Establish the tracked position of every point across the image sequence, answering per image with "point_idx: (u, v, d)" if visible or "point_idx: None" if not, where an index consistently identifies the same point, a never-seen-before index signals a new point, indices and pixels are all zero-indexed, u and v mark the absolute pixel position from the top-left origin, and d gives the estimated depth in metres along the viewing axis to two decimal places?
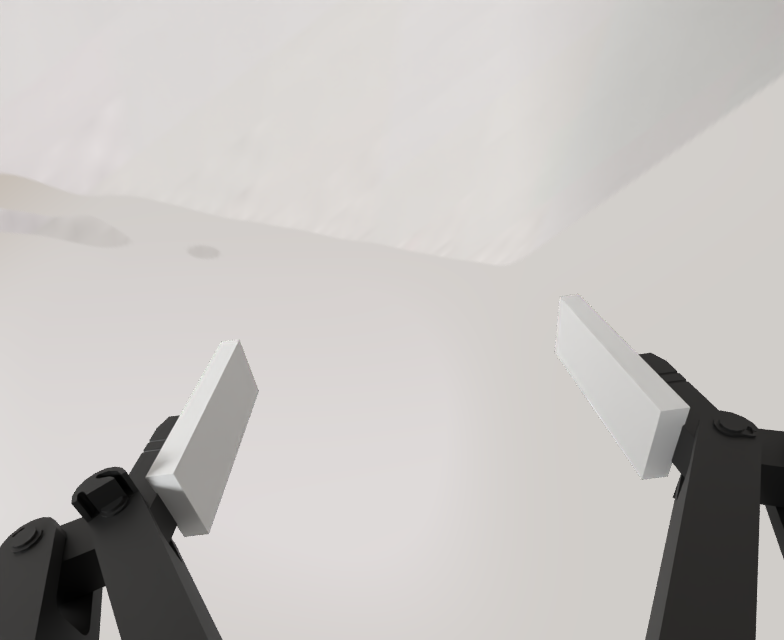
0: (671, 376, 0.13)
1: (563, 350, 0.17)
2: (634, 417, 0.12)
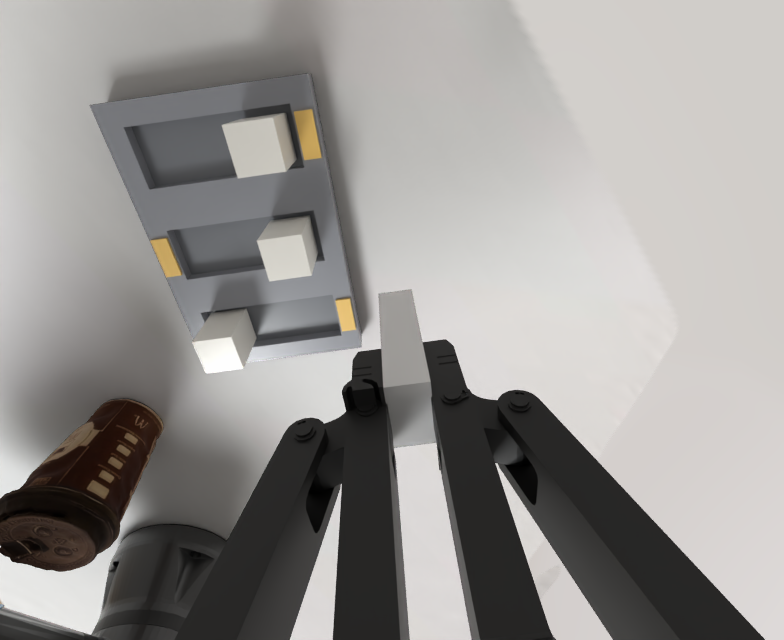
0: (448, 358, 0.15)
1: None
2: None
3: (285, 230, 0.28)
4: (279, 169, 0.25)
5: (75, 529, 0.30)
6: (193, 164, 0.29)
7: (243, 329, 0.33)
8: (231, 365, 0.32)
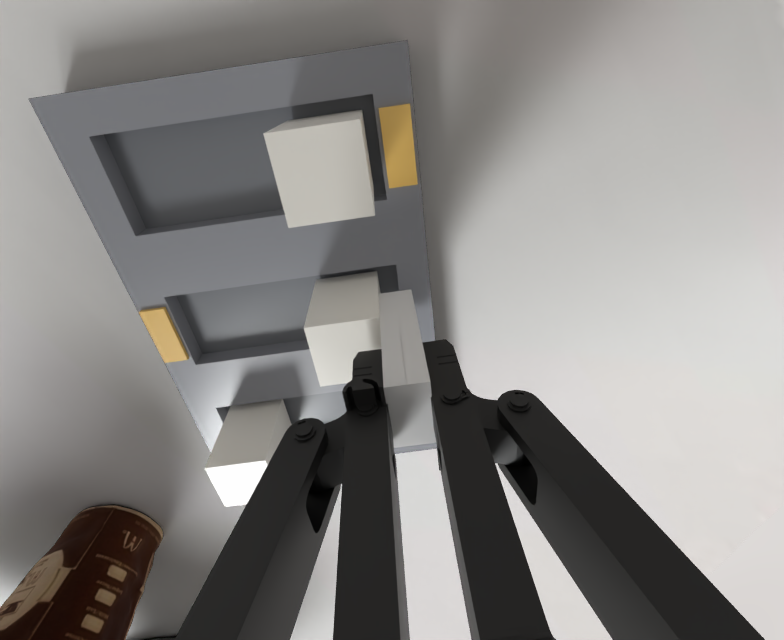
0: (448, 358, 0.15)
1: None
2: None
3: (347, 304, 0.17)
4: (363, 212, 0.14)
5: None
6: (206, 194, 0.18)
7: (280, 435, 0.22)
8: None
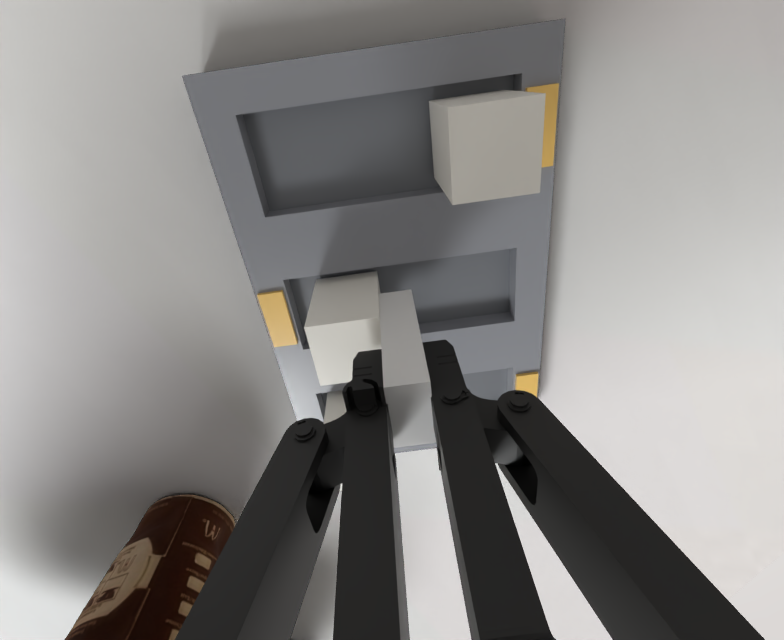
0: (448, 358, 0.15)
1: None
2: None
3: (347, 303, 0.17)
4: (529, 189, 0.14)
5: None
6: (334, 176, 0.18)
7: None
8: None
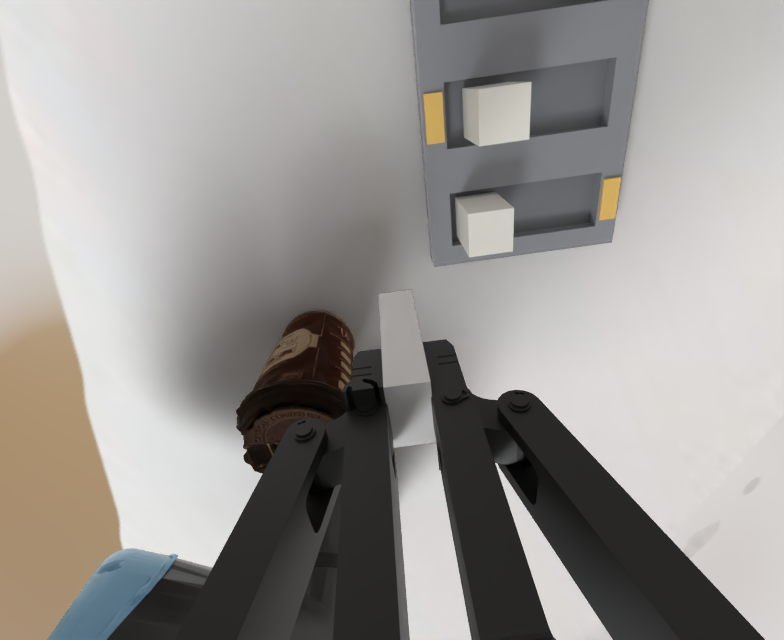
0: (448, 358, 0.15)
1: None
2: None
3: (500, 85, 0.24)
4: None
5: None
6: None
7: None
8: (501, 246, 0.28)
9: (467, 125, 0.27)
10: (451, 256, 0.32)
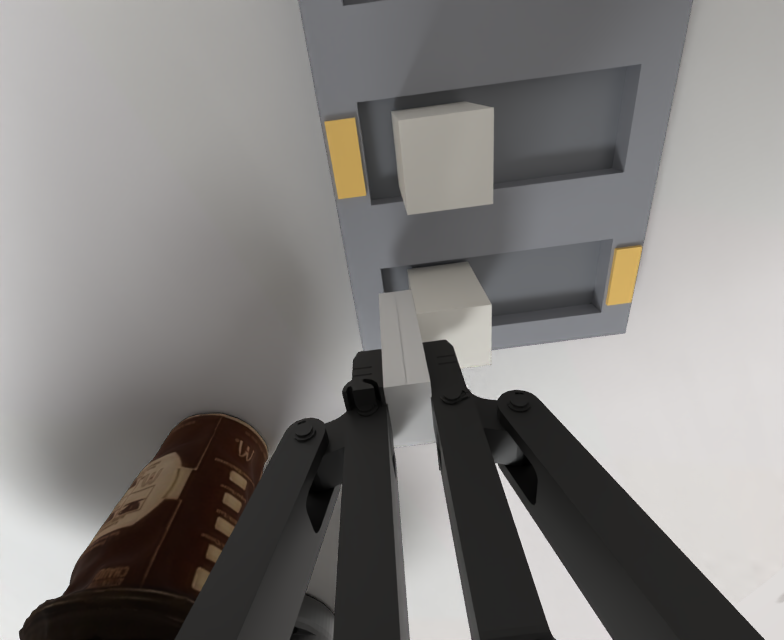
0: (448, 358, 0.15)
1: None
2: None
3: (443, 110, 0.14)
4: None
5: None
6: None
7: None
8: (472, 358, 0.18)
9: (398, 171, 0.17)
10: None
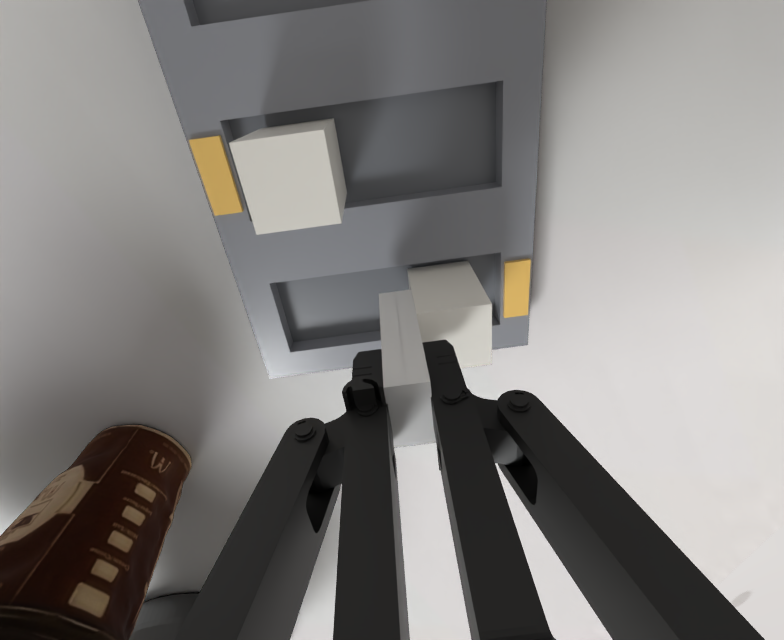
0: (448, 358, 0.15)
1: None
2: None
3: (289, 130, 0.14)
4: None
5: None
6: None
7: None
8: (472, 358, 0.18)
9: None
10: (291, 365, 0.22)
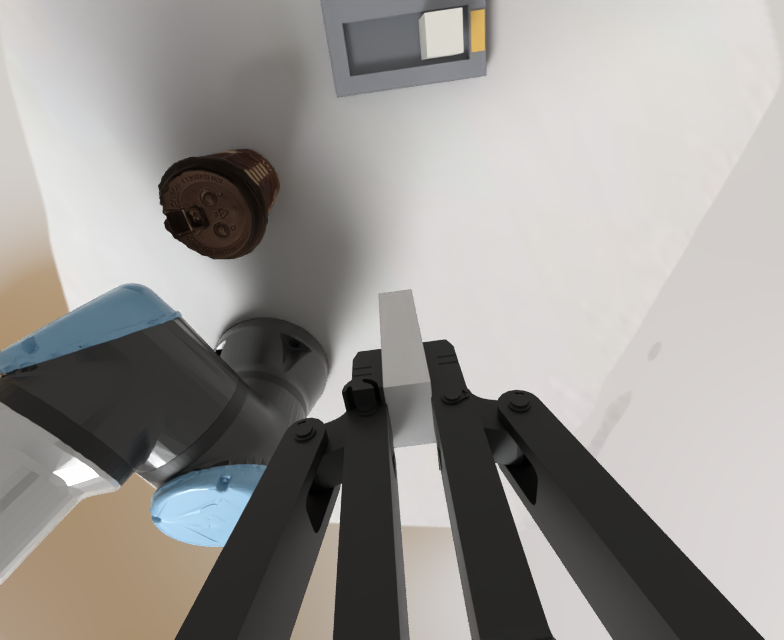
0: (448, 358, 0.15)
1: None
2: None
3: None
4: None
5: (239, 195, 0.32)
6: None
7: None
8: (453, 47, 0.34)
9: None
10: (350, 87, 0.38)
